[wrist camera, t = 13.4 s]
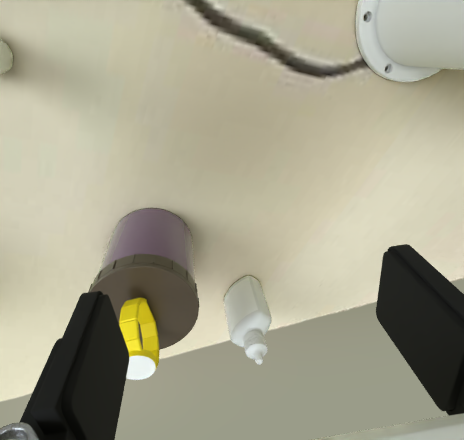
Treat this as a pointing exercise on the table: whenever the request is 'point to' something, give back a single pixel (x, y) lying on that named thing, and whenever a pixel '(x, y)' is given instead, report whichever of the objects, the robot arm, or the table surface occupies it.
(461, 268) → the table surface
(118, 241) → the jar
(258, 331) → the eye dropper bottle
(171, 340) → the jar lid
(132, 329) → the watch
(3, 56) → the milkshake
